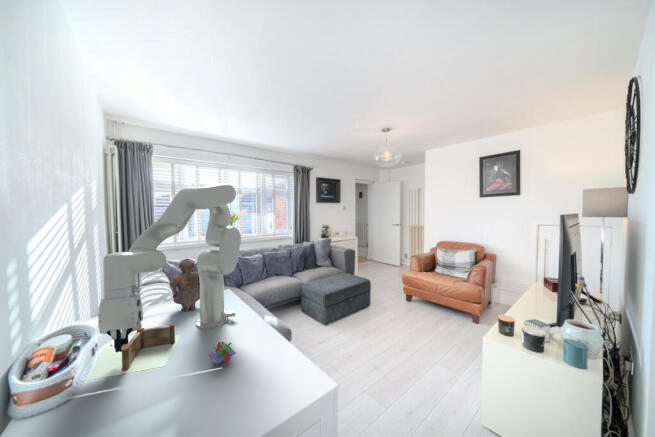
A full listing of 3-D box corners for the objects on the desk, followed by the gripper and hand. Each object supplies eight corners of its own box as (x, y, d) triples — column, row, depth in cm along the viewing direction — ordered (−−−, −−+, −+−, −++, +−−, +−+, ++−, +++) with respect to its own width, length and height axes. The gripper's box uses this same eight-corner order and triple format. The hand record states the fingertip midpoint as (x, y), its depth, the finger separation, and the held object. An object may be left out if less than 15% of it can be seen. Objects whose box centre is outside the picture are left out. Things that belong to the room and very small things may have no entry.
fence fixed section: (175, 341, 87) (175, 323, 87) (174, 344, 85) (173, 325, 85) (138, 347, 83) (138, 328, 83) (136, 350, 82) (135, 331, 81)
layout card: (181, 335, 92) (181, 334, 92) (164, 367, 73) (164, 366, 73) (107, 346, 85) (107, 344, 85) (67, 385, 66) (67, 383, 66)
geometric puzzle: (243, 356, 75) (233, 333, 77) (224, 369, 69) (213, 343, 71) (231, 364, 78) (222, 341, 80) (212, 376, 72) (202, 351, 74)
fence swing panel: (136, 349, 81) (135, 328, 81) (142, 348, 82) (142, 327, 82) (120, 371, 70) (120, 346, 70) (128, 369, 71) (127, 345, 71)
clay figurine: (199, 302, 125) (199, 255, 124) (206, 308, 118) (205, 258, 117) (170, 310, 116) (169, 259, 115) (175, 316, 108) (174, 262, 108)
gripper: (153, 286, 80) (154, 340, 80) (99, 290, 76) (100, 346, 76) (142, 294, 72) (142, 353, 73) (82, 298, 69) (83, 360, 69)
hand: (121, 349), depth 74 cm, fingers closed
